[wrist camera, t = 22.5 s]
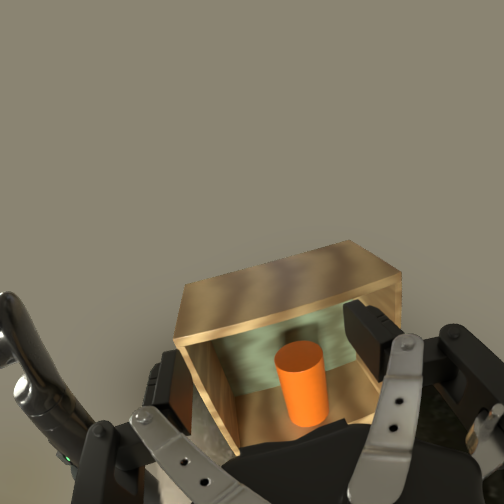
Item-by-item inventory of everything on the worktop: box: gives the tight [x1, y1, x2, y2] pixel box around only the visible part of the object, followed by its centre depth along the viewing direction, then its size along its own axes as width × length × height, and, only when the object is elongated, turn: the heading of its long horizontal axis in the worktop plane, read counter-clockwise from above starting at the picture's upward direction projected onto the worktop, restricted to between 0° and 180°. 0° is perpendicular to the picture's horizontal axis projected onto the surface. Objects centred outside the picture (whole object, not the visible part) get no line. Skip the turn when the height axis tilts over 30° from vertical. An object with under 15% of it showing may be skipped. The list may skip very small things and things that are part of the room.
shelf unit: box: [173, 240, 402, 456], centre depth 33 cm, size 22×12×23 cm, turn 97°
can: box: [274, 341, 329, 427], centre depth 32 cm, size 6×6×11 cm
